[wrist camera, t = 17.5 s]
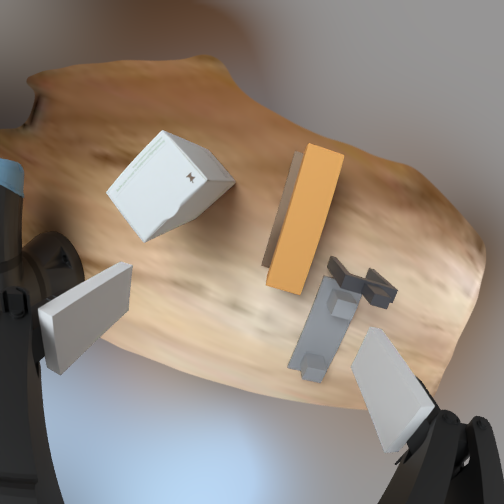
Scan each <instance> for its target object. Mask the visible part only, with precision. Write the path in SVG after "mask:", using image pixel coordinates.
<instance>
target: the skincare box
mask: <svg viewBox="0 0 504 504" xmlns="http://www.w3.org/2000/svg"><path fill="white" fill-rule="evenodd" d="M235 183H236V181H235V180H234V179H233V177H232V176H231V175H230V174H229V173H228V171H227V170H226V169H225V168H224V167H223V166H222V164H221V163H220V162H219V161H218V160H217V159H216V158H215V157H214V155H213V154H212V153H211V152H210V151H209V150H208V149H206V148H203V147H201V146H199V145H197V144H194V143H192V142H190V141H187V140H185V139H183V138H180V137H178V136H175V135H173V134H171V133H168V132H166V131H164V130H162V131H161V132H160V133H159V134H158V135H157V136H156V137H155V138H154V139H153V140H152V141H151V142H150V143H149V144H148V145H147V146H146V147H145V148H144V149H143V150H142V151H141V153H140V154H139V155H138V156H137V157H136V158H135V159H134V160H133V161H132V162H131V163H130V165H129V166H128V167H127V168H126V169H125V170H124V171H123V172H122V174H121V175H120V176H119V177H118V178H117V180H116V181H115V182H114V183H113V184H112V186H111V187H110V188H109V189H108V191H107V192H106V193H107V195H108V196H109V197H110V199H111V200H112V201H113V203H114V204H115V206H116V207H117V208H118V210H119V211H120V212H121V214H122V215H123V217H124V218H125V219H126V221H127V222H128V223H129V224H130V226H131V227H132V228H133V230H134V231H135V232H136V233H137V235H138V236H139V237H140V239H141V240H142V241H143V242H144V243H145V242H147V241H149V240H151V239H153V238H155V237H157V236H159V235H162V234H164V233H166V232H168V231H170V230H172V229H174V228H176V227H179V226H181V225H183V224H185V223H187V222H189V221H192V220H194V219H196V218H197V217H198V216H199V215H200V214H201V213H203V212H204V211H205V210H206V209H207V208H208V207H209V206H210V205H212V204H213V203H214V202H215V201H216V200H217V199H218V198H219V197H221V196H222V195H223V194H224V193H225V192H226V191H227V190H229V189H230V188H231V187H232V186H233V185H234V184H235Z"/></svg>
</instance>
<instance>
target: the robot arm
mask: <svg viewBox="0 0 504 504" xmlns="http://www.w3.org/2000/svg"><path fill="white" fill-rule="evenodd" d="M23 186H24V170H23V167H22V166H21V165H20V164H19V163H17V162H14V161H10V160H6V159H1V158H0V504H64V501H63V498H62V495H61V492H60V489H59V485H58V481H57V478H56V474H55V470H54V466H53V462H52V458H51V453H50V448H49V443H48V437H47V431H46V425H45V417H44V409H43V399H42V386H41V366H40V362H39V361H40V360H41V359H42V358H43V357H44V356H45V359H46V365H47V368H49V369H51V370H52V371H54V372H56V373H57V374H59V375H62V374H63V372H65V371H66V370H67V369H68V367H70V366H71V365H72V364H73V363H74V362H75V361H76V360H77V359H78V358H79V357H80V356H81V355H82V354H83V353H84V352H85V351H86V350H87V349H88V348H89V347H90V346H91V345H92V344H93V343H94V342H95V341H96V340H97V339H98V338H100V337H101V336H102V335H103V334H104V333H105V332H106V331H107V330H108V329H109V328H110V327H111V326H112V325H113V324H114V323H115V322H117V321H118V320H119V319H120V318H121V317H122V316H123V315H124V314H125V313H126V312H127V311H128V310H129V298H130V287H131V277H132V268H133V265H130V264H127V263H124V262H119V263H117V264H115V265H113V266H111V267H110V268H108V269H106V270H104V271H102V272H100V273H99V274H97V275H95V276H93V277H91V278H90V279H88V280H86V281H84V274H83V268H82V265H81V261H80V259H79V256H78V254H77V252H76V250H75V248H74V247H73V245H72V244H71V243H70V241H69V240H68V239H67V238H66V237H65V236H63V235H62V234H60V233H58V232H54V231H50V232H46V233H42V234H39V235H37V236H36V237H35V238H34V239H33V240H31V241H30V242H29V243H28V244H26V245H25V246H24V247H23V248H22V207H23V198H24V193H23ZM351 369H352V371H353V373H354V376H355V378H356V381H357V383H358V386H359V388H360V391H361V393H362V396H363V398H364V401H365V403H366V406H367V408H368V411H369V413H370V416H371V418H372V421H373V424H374V426H375V429H376V432H377V434H378V437H379V440H380V442H381V445H382V448H383V451H384V453H388V452H398V451H399V450H400V449H401V448H402V447H403V446H404V445H405V444H406V443H407V445H408V447H409V449H408V450H407V451H406V452H405V453H404V454H403V455H402V456H401V457H400V459H399V460H398V461H397V462H396V463H395V465H397V464H398V463H399V462H400V464H399V466H398V468H397V470H396V472H395V474H394V476H393V477H392V479H391V481H390V483H389V485H388V487H387V488H386V490H385V492H384V494H383V495H382V497H381V499H380V501H379V502H378V504H504V479H503V474H502V469H501V463H500V458H499V454H498V449H497V445H496V441H495V437H494V434H493V430H492V427H491V425H490V423H489V422H488V420H487V419H485V418H484V417H480V416H475V417H474V418H473V419H472V420H471V421H470V423H469V424H463V423H460V420H459V418H458V417H457V416H456V415H455V414H454V413H452V412H451V411H448V410H440V408H439V407H438V405H437V404H436V402H435V400H434V399H433V397H432V396H431V394H429V391H428V390H427V389H426V387H425V386H424V384H423V383H422V381H421V380H420V379H418V378H417V377H416V376H415V375H414V374H413V373H412V371H411V370H410V368H409V367H408V365H407V364H406V362H405V361H404V360H403V358H402V357H401V355H400V354H399V353H398V351H397V350H396V348H395V347H394V346H393V344H392V343H391V341H390V340H389V339H388V337H387V336H386V335H385V333H384V332H383V331H382V329H380V328H374V327H370V328H369V330H368V332H367V334H366V336H365V339H364V341H363V343H362V345H361V347H360V349H359V351H358V353H357V355H356V357H355V359H354V361H353V363H352V365H351ZM469 457H470V460H469V463H468V464H467V465H466V466H465V467H464V462H465V461H466V460H467V459H468V458H469Z"/></svg>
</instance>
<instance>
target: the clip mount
mask: <svg viewBox="0 0 504 504" xmlns="http://www.w3.org/2000/svg"><path fill="white" fill-rule="evenodd" d="M361 296H362V294H359V293H355V292H352V291H348V290H345V289H341V288H340V287H339V285H338V283H337V282H336V280H335V279H334V278H330V277H327V276H323V279H322V282H321V285H320V287H319V290H318V293H317V295H316V298H315V300H314V303H313V306H312V308H311V311H310V313H309V316H308V318H307V321H306V323H305V326H304V328H303V331H302V333H301V335H300V338H299V340H298V343H297V345H296V347H295V350H294V352H293V354H292V357H291V359H290V361H289V363H288V366H287V368H291V369H295V370H299V371H301V376H302V379H304V380H308V381H313V382H318V383H321V381H322V379H323V377H324V375H325V374H326V372H327V369H328V367H329V365H330V363H331V361H332V359H333V357H334V355H335V353H336V351H337V349H338V347H339V345H340V343H341V341H342V339H343V337H344V335H345V333H346V330H347V328H348V326H349V324H350V322H351V320H352V318H353V316H354V313H355V311H356V309H357V306H358V303H359V301H360V298H361Z"/></svg>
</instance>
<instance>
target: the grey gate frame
mask: <svg viewBox="0 0 504 504" xmlns="http://www.w3.org/2000/svg"><path fill="white" fill-rule="evenodd" d="M327 268H328V269H329V271H330V272H331V274H332V275H333V277H334V279H335V280H336V282H337V283H338V285H339V287H340V288H341V289H345V290H348V291H352V292H355V293H359V294H362V295H363V296H364V297H365V298H366V300H367V301H368V302H369V304H370V305H373V306H377V307H381V308H384V309H387V308H388V305H389V303H393V301H394V298H395V296H396V294H397V291H398V290H397V289H396V288H395V287H394V286H392V285H391V284H390V283H389V282H388V281H387V280H386V279H385V278H383V277H382V276H381V275H380V274H379V273H378V272H376V271H375V270H374V269H371V268H369V270H368V273H367V275H366V278H362V277H359V276H356V275H353V274H350V273H349V272H348V271H347V269H346V268H345V267H344V266H343V265H342V264H341V262H340V261H339V260H338V259H337V258H336V257H333V256H331V257H330V260H329V263H328V265H327Z"/></svg>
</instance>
